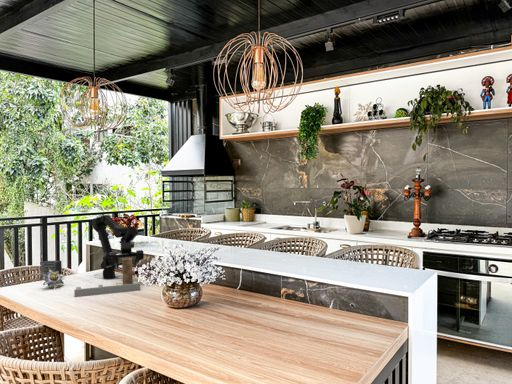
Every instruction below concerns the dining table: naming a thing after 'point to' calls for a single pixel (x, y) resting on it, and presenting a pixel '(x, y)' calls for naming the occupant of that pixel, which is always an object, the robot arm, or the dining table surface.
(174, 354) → the dining table surface
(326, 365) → the dining table surface
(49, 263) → the small box
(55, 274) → the passion flower
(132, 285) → the tray
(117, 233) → the robot arm
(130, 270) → the walnut block
